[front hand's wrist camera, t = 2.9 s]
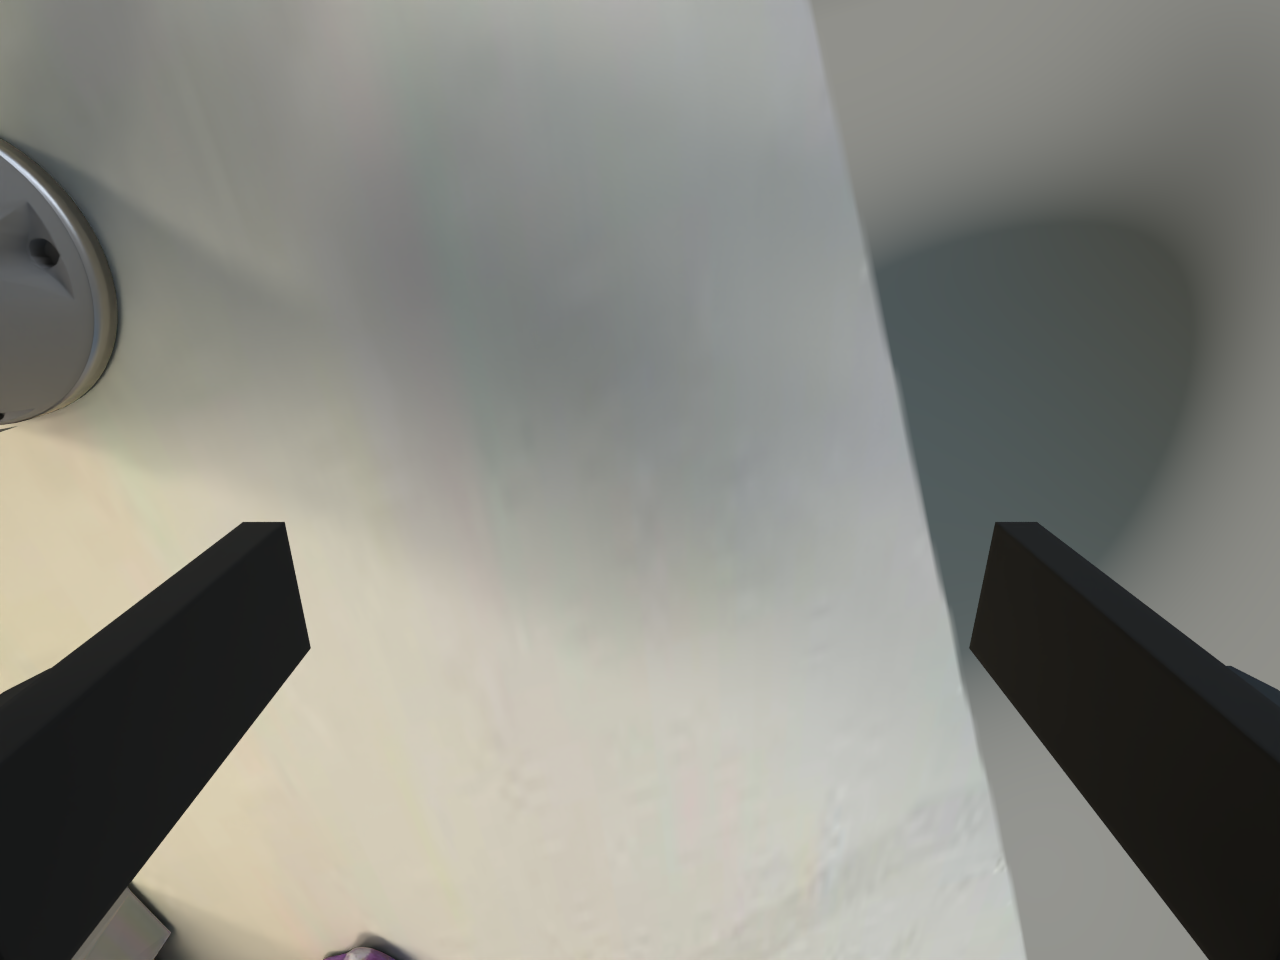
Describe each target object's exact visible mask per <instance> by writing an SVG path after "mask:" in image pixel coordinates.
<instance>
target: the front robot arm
mask: <svg viewBox="0 0 1280 960" xmlns="http://www.w3.org/2000/svg"><path fill="white" fill-rule="evenodd" d="M116 332H117V301H116V293H115V288H114V283H113V279H112V275H111V272H110V269H109V265H108V262H107V260H106V257H105V255H104V252H103V250H102V247H101V245H100V243H99V241H98V239H97V237H96V235H95V233H94V232H93V230H92V228H91V227H90V225H89V223H88V222H87V220H86V218H85V217H84V215H83V214H82V213H81V211H80V210H79V208H78V207H77V206H76V204H75V203H74V202H73V200H72V199H71V198H70V197H69V196H68V194H67V193H66V192H65V191H64V190H63V188H62V187H61V186H60V185H59V184H58V183H57V182H56V181H55V180H54V179H53V178H52V177H51V176H50V175H49V174H48V173H47V172H46V171H45V170H43V169H42V168H41V167H40V166H39V165H38V164H37V163H35V162H34V161H33V160H32V159H30V158H29V157H28V156H26V155H25V154H24V153H23V152H21V151H20V150H18V149H17V148H15V147H14V146H12V145H11V144H9V143H8V142H6V141H4V140H2V139H1V138H0V425H4V424H11V423H17V422H21V421H25V420H29V419H32V418H35V417H38V416H41V415H44V414H47V413H50V412H53V411H56V410H58V409H61V408H63V407H65V406H67V405H69V404H71V403H73V402H74V401H76V400H77V399H78V398H80V397H81V396H83V395H84V394H85V393H86V392H87V391H88V390H89V389H90V388H91V387H92V386H93V385H94V384H95V383H96V381H97V380H98V379H99V377H100V376H101V374H102V373H103V371H104V370H105V368H106V366H107V363H108V361H109V359H110V357H111V354H112V350H113V347H114V343H115V338H116ZM16 427H17V426H16ZM11 428H14V427H11ZM11 428H6V429H1V430H0V432H2V431H5V430H8V429H11ZM310 648H311V647H310V642H309V638H308V633H307V628H306V623H305V618H304V613H303V609H302V604H301V599H300V594H299V589H298V584H297V580H296V575H295V570H294V565H293V560H292V555H291V551H290V546H289V541H288V536H287V531H286V526H285V522H243V523H241V524H240V525H239V526H237V527H236V528H235V529H233V530H232V531H231V532H229V533H228V534H227V535H226V536H224V537H223V538H222V539H220V540H219V541H218V542H216V543H215V544H214V545H212V546H211V547H210V548H208V549H207V550H206V551H205V552H203V553H202V554H201V555H199V556H198V557H197V558H195V559H194V560H193V561H191V562H190V563H189V564H187V565H186V566H185V567H183V568H182V569H181V570H180V571H178V572H177V573H176V574H174V575H173V576H172V577H170V578H169V579H168V580H166V581H165V582H164V583H162V584H161V585H160V586H159V587H157V588H156V589H155V590H153V591H152V592H151V593H149V594H148V595H147V596H145V597H144V598H143V599H141V600H140V601H139V602H138V603H136V604H135V605H134V606H132V607H131V608H130V609H128V610H127V611H126V612H124V613H123V614H122V615H120V616H119V617H118V618H116V619H115V620H114V621H113V622H111V623H110V624H109V625H107V626H106V627H105V628H103V629H102V630H101V631H99V632H98V633H97V634H95V635H94V636H93V637H92V638H90V639H89V640H88V641H86V642H85V643H84V644H82V645H81V646H80V647H78V648H77V649H76V650H74V651H73V652H72V653H71V654H69V655H68V656H67V657H65V658H64V659H63V660H61V661H60V662H59V663H57V664H56V665H55V666H53V667H52V668H50V669H48V670H46V671H44V672H42V673H40V674H38V675H36V676H34V677H32V678H30V679H28V680H26V681H24V682H22V683H20V684H18V685H16V686H14V687H12V688H11V689H9V690H7V691H5V692H3V693H2V694H0V960H71V959H72V958H73V957H74V955H75V954H76V953H77V951H78V950H79V949H80V947H81V946H82V945H83V944H84V942H85V941H86V940H87V938H88V937H89V936H90V934H91V933H92V932H93V931H94V929H95V928H96V927H97V925H98V924H99V923H100V921H101V920H102V919H103V918H104V916H105V915H106V914H107V912H108V911H109V910H110V908H111V907H112V906H113V905H114V903H115V902H116V901H117V899H118V898H119V897H120V895H121V894H122V893H123V892H124V890H125V889H126V888H127V886H128V885H129V884H130V882H131V881H132V880H133V879H134V877H135V876H136V875H137V873H138V872H139V871H140V869H141V868H142V867H143V866H144V864H145V863H146V862H147V860H148V859H149V858H150V856H151V855H152V854H153V853H154V851H155V850H156V849H157V847H158V846H159V845H160V843H161V842H162V841H163V840H164V838H165V837H166V836H167V834H168V833H169V832H170V830H171V829H172V828H173V827H174V825H175V824H176V823H177V821H178V820H179V819H180V817H181V816H182V815H183V814H184V812H185V811H186V810H187V808H188V807H189V806H190V804H191V803H192V802H193V801H194V799H195V798H196V797H197V795H198V794H199V793H200V791H201V790H202V789H203V788H204V786H205V785H206V784H207V782H208V781H209V780H210V778H211V777H212V776H213V775H214V773H215V772H216V771H217V769H218V768H219V767H220V765H221V764H222V763H223V762H224V760H225V759H226V758H227V756H228V755H229V754H230V752H231V751H232V750H233V749H234V747H235V746H236V745H237V743H238V742H239V741H240V739H241V738H242V737H243V735H244V734H245V733H246V732H247V730H248V729H249V728H250V726H251V725H252V724H253V722H254V721H255V720H256V719H257V717H258V716H259V715H260V713H261V712H262V711H263V709H264V708H265V707H266V706H267V704H268V703H269V702H270V700H271V699H272V698H273V696H274V695H275V694H276V693H277V691H278V690H279V689H280V687H281V686H282V685H283V683H284V682H285V681H286V680H287V678H288V677H289V676H290V674H291V673H292V672H293V670H294V669H295V668H296V667H297V665H298V664H299V663H300V661H301V660H302V659H303V657H304V656H305V655H306V654H307V652H308V651H309V650H310ZM969 648H970V650H971V651H972V652H973V654H974V655H975V656H976V657H977V659H978V660H979V661H980V663H981V664H982V665H983V667H984V668H985V669H986V670H987V672H988V673H989V674H990V676H991V677H992V678H993V680H994V681H995V682H996V683H997V685H998V686H999V687H1000V689H1001V690H1002V691H1003V693H1004V694H1005V695H1006V696H1007V698H1008V699H1009V700H1010V702H1011V703H1012V704H1013V706H1014V707H1015V708H1016V709H1017V711H1018V712H1019V713H1020V715H1021V716H1022V717H1023V719H1024V720H1025V721H1026V722H1027V724H1028V725H1029V726H1030V728H1031V729H1032V730H1033V732H1034V733H1035V734H1036V735H1037V737H1038V738H1039V739H1040V741H1041V742H1042V743H1043V745H1044V746H1045V747H1046V748H1047V750H1048V751H1049V752H1050V754H1051V755H1052V756H1053V758H1054V759H1055V760H1056V761H1057V763H1058V764H1059V765H1060V767H1061V768H1062V769H1063V771H1064V772H1065V773H1066V775H1067V776H1068V777H1069V778H1070V780H1071V781H1072V782H1073V784H1074V785H1075V786H1076V788H1077V789H1078V790H1079V791H1080V793H1081V794H1082V795H1083V797H1084V798H1085V799H1086V800H1087V802H1088V803H1089V804H1090V806H1091V807H1092V808H1093V810H1094V811H1095V812H1096V813H1097V815H1098V816H1099V817H1100V819H1101V820H1102V821H1103V823H1104V824H1105V825H1106V826H1107V828H1108V829H1109V830H1110V832H1111V833H1112V834H1113V836H1114V837H1115V838H1116V840H1117V841H1118V842H1119V843H1120V845H1121V846H1122V847H1123V849H1124V850H1125V851H1126V853H1127V854H1128V855H1129V856H1130V858H1131V859H1132V860H1133V862H1134V863H1135V864H1136V866H1137V867H1138V868H1139V869H1140V871H1141V872H1142V873H1143V875H1144V876H1145V877H1146V879H1147V880H1148V881H1149V882H1150V884H1151V885H1152V886H1153V888H1154V889H1155V890H1156V891H1157V893H1158V894H1159V895H1160V897H1161V898H1162V899H1163V901H1164V902H1165V903H1166V905H1167V906H1168V907H1169V908H1170V910H1171V911H1172V912H1173V914H1174V915H1175V916H1176V917H1177V919H1178V920H1179V921H1180V923H1181V924H1182V925H1183V927H1184V928H1185V929H1186V930H1187V932H1188V933H1189V934H1190V936H1191V937H1192V938H1193V940H1194V941H1195V942H1196V944H1197V945H1198V946H1199V947H1200V949H1201V950H1202V951H1203V953H1204V954H1205V955H1206V957H1207V958H1208V959H1209V960H1280V691H1279V690H1277V689H1275V688H1273V687H1271V686H1269V685H1268V684H1266V683H1264V682H1262V681H1260V680H1258V679H1256V678H1254V677H1252V676H1250V675H1248V674H1246V673H1244V672H1242V671H1240V670H1238V669H1236V668H1234V667H1232V666H1225V665H1224V664H1223V663H1221V662H1220V661H1219V660H1217V659H1216V658H1215V657H1213V656H1212V655H1211V654H1209V653H1208V652H1207V651H1206V650H1204V649H1203V648H1202V647H1200V646H1199V645H1198V644H1196V643H1195V642H1194V641H1192V640H1191V639H1190V638H1188V637H1187V636H1186V635H1185V634H1183V633H1182V632H1181V631H1179V630H1178V629H1177V628H1175V627H1174V626H1173V625H1171V624H1170V623H1169V622H1167V621H1166V620H1165V619H1164V618H1162V617H1161V616H1160V615H1158V614H1157V613H1156V612H1154V611H1153V610H1152V609H1150V608H1149V607H1148V606H1146V605H1145V604H1144V603H1142V602H1141V601H1140V600H1139V599H1137V598H1136V597H1135V596H1133V595H1132V594H1131V593H1129V592H1128V591H1127V590H1125V589H1124V588H1123V587H1121V586H1120V585H1119V584H1118V583H1116V582H1115V581H1114V580H1112V579H1111V578H1110V577H1108V576H1107V575H1106V574H1104V573H1103V572H1102V571H1100V570H1099V569H1098V568H1097V567H1095V566H1094V565H1093V564H1091V563H1090V562H1089V561H1087V560H1086V559H1085V558H1083V557H1082V556H1081V555H1079V554H1078V553H1077V552H1075V551H1074V550H1073V549H1072V548H1070V547H1069V546H1068V545H1066V544H1065V543H1064V542H1062V541H1061V540H1060V539H1058V538H1057V537H1056V536H1054V535H1053V534H1052V533H1050V532H1049V531H1048V530H1047V529H1045V528H1044V527H1043V526H1041V525H1040V524H1039V523H1037V522H995V526H994V531H993V536H992V541H991V546H990V551H989V555H988V560H987V565H986V570H985V575H984V580H983V584H982V589H981V594H980V599H979V604H978V609H977V614H976V618H975V623H974V628H973V633H972V638H971V643H970V647H969Z"/></svg>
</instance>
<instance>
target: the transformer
mask: <svg viewBox="0 0 1280 960" xmlns="http://www.w3.org/2000/svg"><path fill="white" fill-rule="evenodd" d="M170 934H171V932H170V931H169V930H168V929H167V928H166V927H165V926H164V925H163V924H162V923H161V922H160V921H159V920H158V919H157V918H156V917H155V916H154V915H153V914H152V913H151V912H150V911H149V909H148V908H147V907H146V906H145V905H144V904H143V903H142V902H141V901H140V900H139V899H138V898H137V897H136V896H135V895H134V894H133V893H132V892H131V891H130V889H129V888H128V886H127V888H126V889H125V890H124V892H123V893H122V894H121V895H120V897H119V898H118V899H117V901H116V902H115V903H114V905H113V906H112V907H111V908H110V910H109V911H108V912H107V914H106V915H105V916H104V918H103V919H102V920H101V921H100V923H99V924H98V925H97V927H96V928H95V929H94V931H93V932H92V933H91V934H90V936H89V937H88V938H87V940H86V941H85V942H84V944H83V945H82V946H81V947H80V949H79V950H78V951H77V953H76V954H75V955H74V957H73V958H72V959H71V960H155V959H154V958H155V957H156V955H157V954H158V952H159V951H160V949H161V948H162V946H163V944H164V943H165V941H166V940H167V938H168V937H169V935H170Z"/></svg>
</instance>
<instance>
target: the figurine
mask: <svg viewBox="0 0 1280 960" xmlns="http://www.w3.org/2000/svg"><path fill="white" fill-rule="evenodd" d="M324 960H395V959H393V958H392V957H390V956H388V955H387V954H385V953H382V952H380V951H378V950H375V949H372V948H367V947H356V948H354V949H352V950H351V951H349V952H348V953H345V954H344V953H343V954H341V955H336V956H331V957H328V958H325V959H324Z"/></svg>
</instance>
